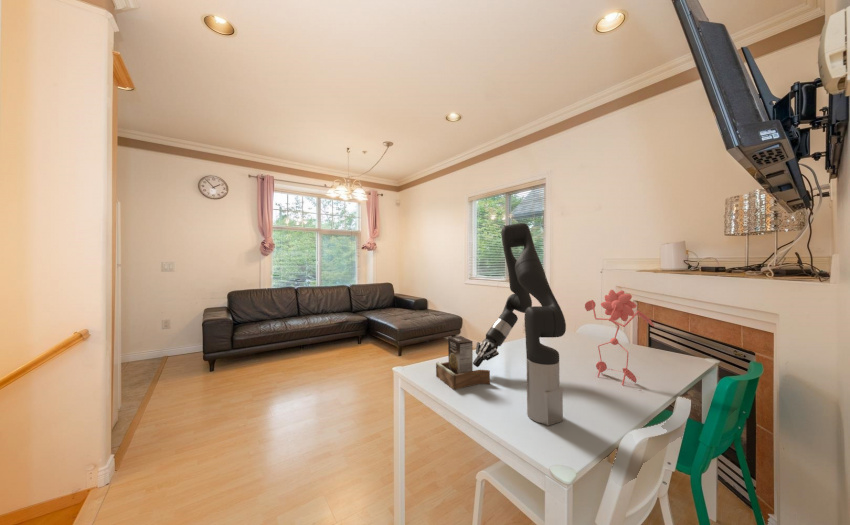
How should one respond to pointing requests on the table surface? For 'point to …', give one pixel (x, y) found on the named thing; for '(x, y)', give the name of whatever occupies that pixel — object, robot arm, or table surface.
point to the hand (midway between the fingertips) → (475, 365)
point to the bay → (461, 376)
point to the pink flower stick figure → (617, 308)
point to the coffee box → (460, 354)
